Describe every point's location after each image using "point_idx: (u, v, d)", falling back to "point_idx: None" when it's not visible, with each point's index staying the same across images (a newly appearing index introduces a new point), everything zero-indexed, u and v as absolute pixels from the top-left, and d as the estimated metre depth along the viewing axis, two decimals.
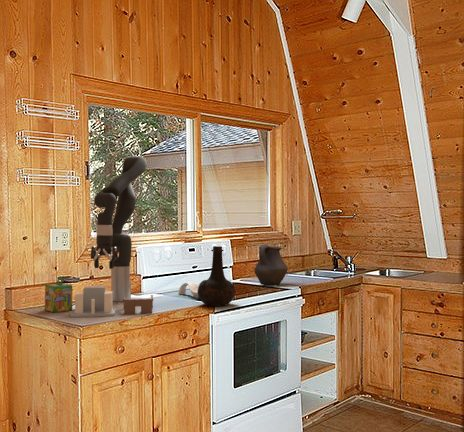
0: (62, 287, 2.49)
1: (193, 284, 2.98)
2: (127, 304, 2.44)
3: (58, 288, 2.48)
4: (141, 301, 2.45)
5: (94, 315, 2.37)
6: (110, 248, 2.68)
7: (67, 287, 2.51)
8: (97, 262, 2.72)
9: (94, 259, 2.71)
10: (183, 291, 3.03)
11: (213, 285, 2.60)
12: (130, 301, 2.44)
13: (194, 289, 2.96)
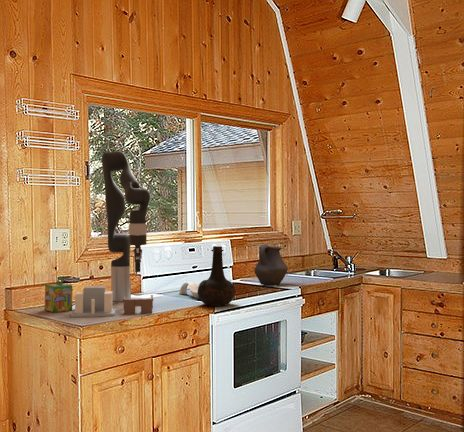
0: (62, 287, 2.49)
1: (193, 284, 2.99)
2: (127, 304, 2.44)
3: (58, 288, 2.48)
4: (141, 301, 2.45)
5: (94, 315, 2.37)
6: None
7: (67, 287, 2.51)
8: None
9: (140, 262, 2.41)
10: (184, 291, 3.04)
11: (213, 285, 2.60)
12: (130, 301, 2.44)
13: (194, 289, 2.96)
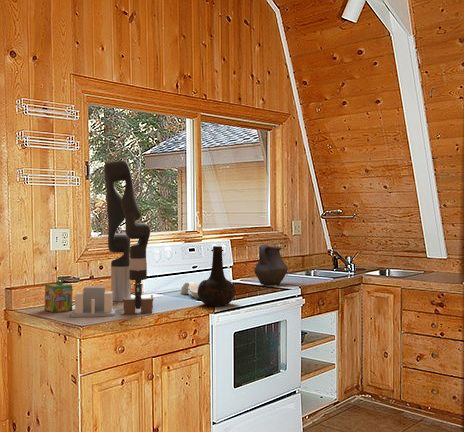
0: (62, 287, 2.49)
1: (194, 284, 3.00)
2: (127, 304, 2.44)
3: (58, 288, 2.48)
4: (141, 301, 2.45)
5: (94, 315, 2.37)
6: None
7: (67, 287, 2.51)
8: None
9: (140, 299, 2.44)
10: (185, 291, 3.05)
11: (213, 285, 2.60)
12: (130, 301, 2.44)
13: (194, 289, 2.97)
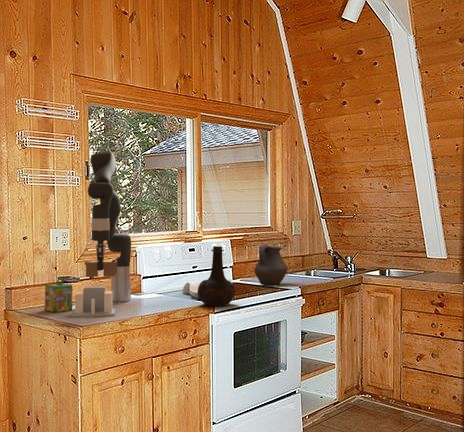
0: (62, 287, 2.49)
1: (195, 284, 3.00)
2: (89, 267, 2.37)
3: (58, 288, 2.48)
4: (104, 264, 2.38)
5: (94, 315, 2.37)
6: None
7: (67, 287, 2.51)
8: None
9: (103, 260, 2.38)
10: (187, 290, 3.06)
11: (213, 285, 2.60)
12: (92, 264, 2.38)
13: (195, 289, 2.97)
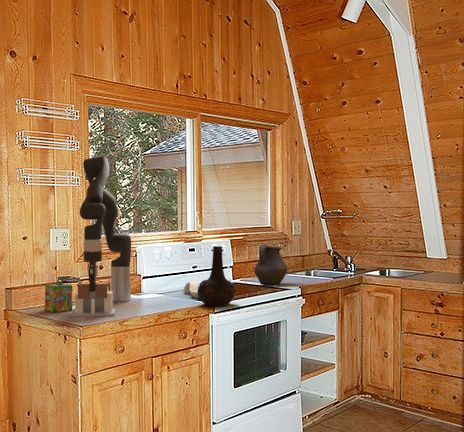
0: (62, 287, 2.49)
1: (195, 283, 3.01)
2: (81, 289, 2.37)
3: (58, 288, 2.48)
4: (96, 286, 2.38)
5: (94, 315, 2.37)
6: None
7: (67, 287, 2.51)
8: None
9: (95, 281, 2.37)
10: (188, 290, 3.07)
11: (213, 285, 2.60)
12: (84, 286, 2.37)
13: (195, 288, 2.98)
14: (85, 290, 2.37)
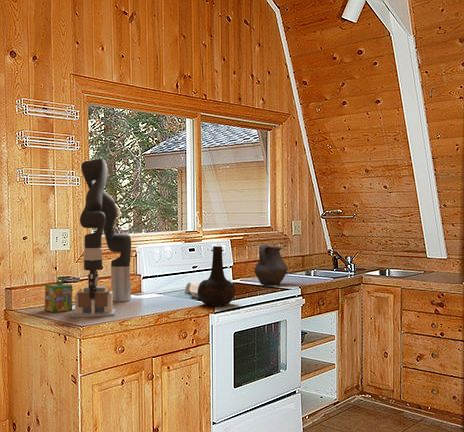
0: (62, 287, 2.49)
1: (196, 283, 3.01)
2: (81, 297, 2.37)
3: (58, 288, 2.48)
4: (96, 294, 2.38)
5: (94, 315, 2.37)
6: None
7: (67, 287, 2.51)
8: None
9: (95, 288, 2.34)
10: (189, 290, 3.07)
11: (213, 285, 2.60)
12: (84, 294, 2.37)
13: (195, 288, 2.98)
14: (85, 298, 2.37)
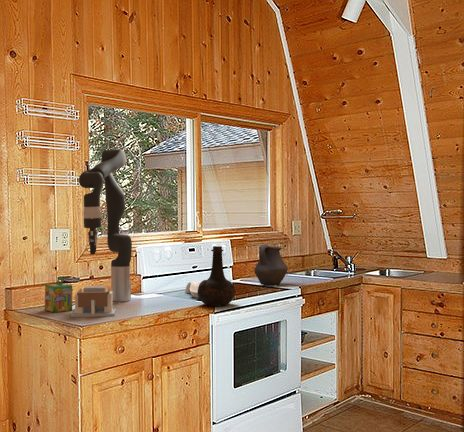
0: (62, 287, 2.49)
1: (196, 283, 3.01)
2: (81, 297, 2.37)
3: (58, 288, 2.48)
4: (96, 294, 2.38)
5: (94, 315, 2.37)
6: None
7: (67, 287, 2.51)
8: None
9: (95, 244, 2.46)
10: (190, 290, 3.08)
11: (213, 285, 2.60)
12: (84, 294, 2.37)
13: (196, 288, 2.98)
14: (85, 298, 2.37)
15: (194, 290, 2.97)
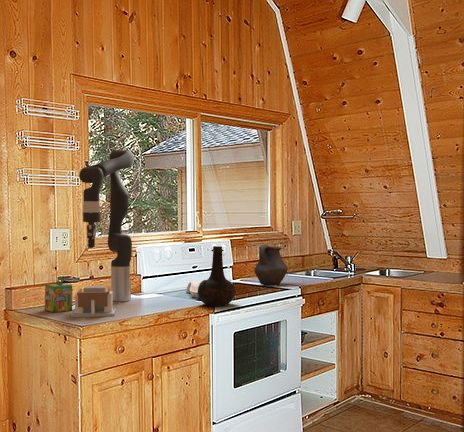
0: (62, 287, 2.49)
1: (197, 283, 3.02)
2: (81, 297, 2.37)
3: (58, 288, 2.48)
4: (96, 294, 2.38)
5: (94, 315, 2.37)
6: None
7: (67, 287, 2.51)
8: None
9: (93, 238, 2.50)
10: None
11: (213, 285, 2.60)
12: (84, 294, 2.37)
13: (196, 288, 2.99)
14: (85, 298, 2.37)
15: (194, 290, 2.97)
